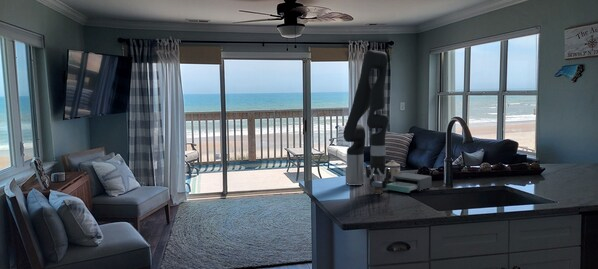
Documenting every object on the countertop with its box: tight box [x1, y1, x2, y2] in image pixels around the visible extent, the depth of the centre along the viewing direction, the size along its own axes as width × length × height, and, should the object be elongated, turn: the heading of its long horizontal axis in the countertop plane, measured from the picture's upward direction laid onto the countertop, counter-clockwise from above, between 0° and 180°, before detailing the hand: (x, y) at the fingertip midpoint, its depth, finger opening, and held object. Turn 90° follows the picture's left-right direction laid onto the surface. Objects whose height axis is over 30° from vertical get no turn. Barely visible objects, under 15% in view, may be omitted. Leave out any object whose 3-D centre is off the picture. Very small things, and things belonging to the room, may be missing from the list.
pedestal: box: [373, 187, 383, 195], centre depth 209 cm, size 4×4×4 cm
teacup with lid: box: [385, 159, 401, 180], centre depth 240 cm, size 12×9×12 cm
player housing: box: [392, 172, 433, 192], centre depth 222 cm, size 16×12×6 cm
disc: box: [372, 180, 383, 188], centre depth 208 cm, size 6×6×2 cm
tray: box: [383, 181, 418, 194], centre depth 215 cm, size 15×12×3 cm
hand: (378, 187), depth 209 cm, fingers closed on disc, 6 cm apart
